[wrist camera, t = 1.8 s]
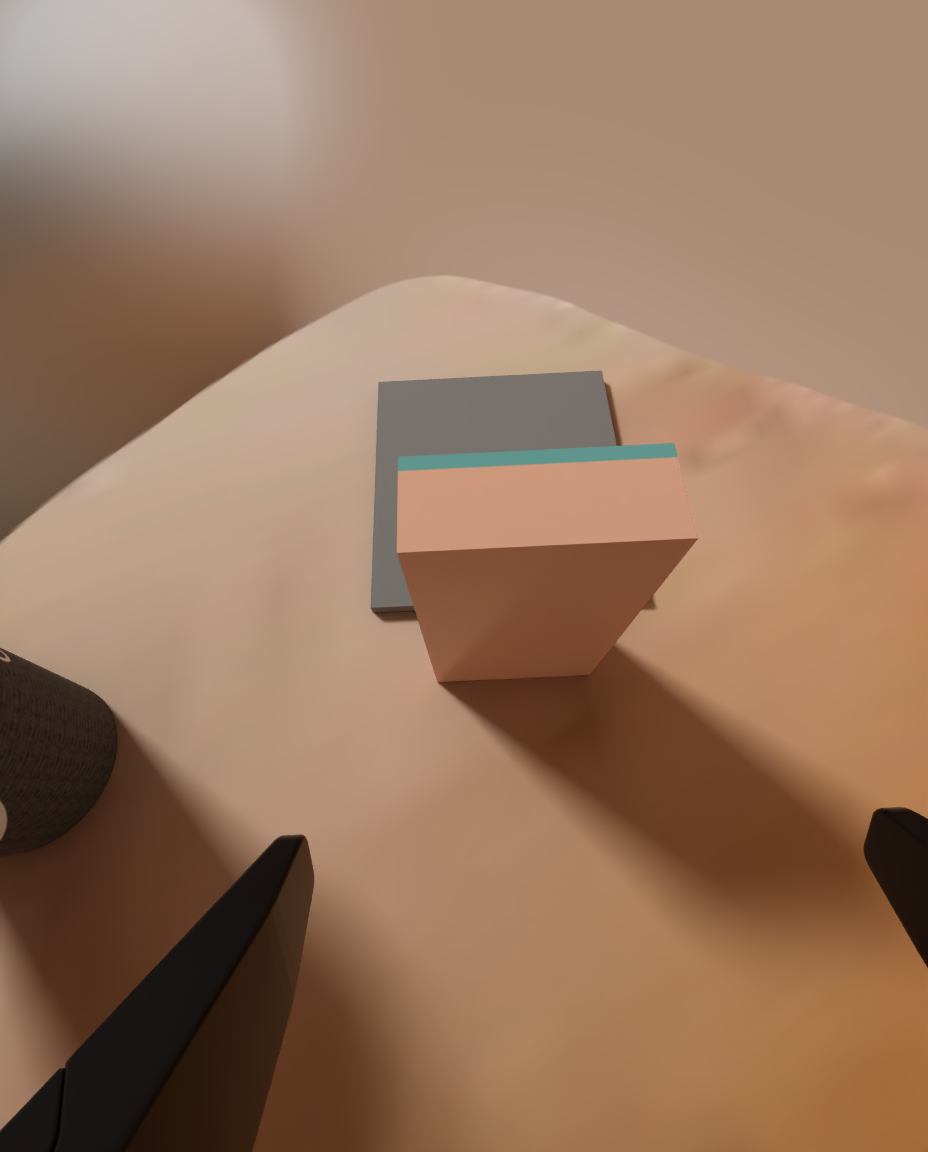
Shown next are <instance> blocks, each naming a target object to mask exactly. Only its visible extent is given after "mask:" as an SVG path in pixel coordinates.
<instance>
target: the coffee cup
mask: <svg viewBox="0 0 928 1152" xmlns="http://www.w3.org/2000/svg"><path fill="white" fill-rule="evenodd" d="M116 748H117V733H116V726H115V722H114V719H113V716H112V714H111V712H110V710H109V708H108V706H107V705H106V704H105V702H104V701H103V700H102V699H101V698H100V697H99V696H98V695H96V694H95V693H94V692H92V691H90V690H89V689H87V688H85V687H83V686H81V685H78V684H76V683H74V682H72V681H70V680H68V679H66V678H64V677H61V676H59V675H57V674H55V673H53V672H51V671H49V670H47V669H44V668H42V667H40V666H38V665H36V664H34V663H32V662H30V661H27V660H25V659H23V658H21V657H19V656H17V655H15V654H13V653H10V652H8V651H6V650H4V649H2V648H0V857H1V856H6V855H12V854H17V853H21V852H26V851H29V850H32V849H35V848H38V847H40V846H43V845H45V844H47V843H49V842H51V841H53V840H54V839H56V838H58V837H59V836H61V835H62V834H64V833H65V832H66V831H68V830H69V829H70V828H71V827H73V826H74V825H75V824H76V823H77V822H78V821H79V820H80V819H81V818H82V817H83V816H84V815H85V814H86V813H87V812H88V811H89V809H90V808H91V807H92V806H93V804H94V803H95V802H96V800H97V799H98V797H99V796H100V794H101V792H102V791H103V789H104V787H105V785H106V783H107V781H108V779H109V776H110V774H111V771H112V768H113V764H114V760H115V756H116Z"/></svg>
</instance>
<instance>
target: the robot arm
mask: <svg viewBox="0 0 928 1152" xmlns="http://www.w3.org/2000/svg"><path fill="white" fill-rule="evenodd" d="M864 855H865V859H866V861H867V863H868V866H869V867H870V869H871V871H872V873H873V874H874V876H875V878H876V880H877V881H878V883H879V885H880V887H881V888H882V890H883V892H884V894H885V895H886V897H887V899H888V901H889V902H890V904H891V906H892V907H893V909H894V911H895V913H896V914H897V916H898V918H899V920H900V921H901V923H902V925H903V927H904V928H905V930H906V932H907V934H908V935H909V937H910V939H911V941H912V942H913V944H914V946H915V948H916V949H917V951H918V953H919V954H920V956H921V958H922V959H923V961H924V963H925V964H926V966H927V968H928V819H927V818H925V817H924V816H922V815H920V814H918V813H916V812H914V811H912V810H910V809H907V808H903V807H894V808H880V809H877V810H876V811H875V812H874V813H873V815H872V819H871V822H870V826H869V829H868V833H867V836H866V839H865V843H864ZM313 888H314V870H313V865H312V860H311V855H310V850H309V846H308V841H307V839H306V837H305V836H304V835H284V836H280V837H278V838H277V839H276V840H274V842H273V843H272V844H271V845H270V846H269V847H268V848H267V849H266V850H265V851H264V852H263V853H262V854H261V855H260V856H259V857H258V859H257V860H256V861H255V862H254V863H253V864H252V865H251V866H250V867H249V868H248V869H247V870H246V871H245V872H244V873H243V874H242V876H241V877H240V878H239V879H238V880H237V881H236V882H235V883H234V884H233V885H232V886H231V887H230V888H229V889H228V890H227V891H226V893H225V894H224V895H223V896H222V897H221V898H220V899H219V900H218V901H217V902H216V903H215V904H214V905H213V906H212V907H211V908H210V910H209V911H208V912H207V913H206V914H205V915H204V916H203V917H202V918H201V919H200V920H199V921H198V922H197V923H196V924H195V925H194V927H193V928H192V929H191V930H190V931H189V932H188V933H187V934H186V935H185V936H184V937H183V938H182V939H181V940H180V941H179V942H178V944H177V945H176V946H175V947H174V948H173V949H172V950H171V951H170V952H169V953H168V954H167V955H166V956H165V957H164V958H163V959H162V960H161V962H160V963H159V964H158V965H157V966H156V967H155V968H154V969H153V970H152V971H151V972H150V973H149V974H148V975H147V976H146V977H145V979H144V980H143V981H142V982H141V983H140V984H139V985H138V986H137V987H136V988H135V989H134V990H133V991H132V992H131V993H130V994H129V996H128V997H127V998H126V999H125V1000H124V1001H123V1002H122V1003H121V1004H120V1005H119V1006H118V1007H117V1008H116V1009H115V1010H114V1011H113V1013H112V1014H111V1015H110V1016H109V1017H108V1018H107V1019H106V1020H105V1021H104V1022H103V1023H102V1024H101V1025H100V1026H99V1027H98V1028H97V1030H96V1031H95V1032H94V1033H93V1034H92V1035H91V1036H90V1037H89V1038H88V1039H87V1040H86V1041H85V1042H84V1043H83V1044H82V1045H81V1047H80V1048H79V1049H78V1050H77V1051H76V1052H75V1053H74V1054H73V1055H72V1056H71V1057H70V1058H69V1059H68V1060H67V1062H66V1065H65V1068H60V1069H59V1070H58V1071H57V1072H56V1073H55V1074H54V1075H53V1076H52V1077H51V1078H50V1079H49V1080H48V1081H47V1082H46V1083H45V1084H44V1085H43V1087H42V1088H41V1089H40V1090H39V1091H38V1092H37V1093H36V1094H35V1095H34V1096H33V1097H32V1098H31V1099H30V1100H29V1101H28V1102H27V1104H26V1105H25V1106H24V1107H23V1108H22V1109H21V1110H20V1111H19V1112H18V1113H17V1114H16V1115H15V1116H14V1117H13V1118H12V1119H11V1120H10V1121H9V1122H8V1123H7V1124H6V1125H5V1126H4V1127H3V1128H2V1129H1V1130H0V1152H252V1151H253V1147H254V1143H255V1140H256V1136H257V1132H258V1129H259V1125H260V1121H261V1118H262V1114H263V1111H264V1107H265V1103H266V1100H267V1096H268V1092H269V1089H270V1085H271V1081H272V1078H273V1074H274V1070H275V1067H276V1063H277V1060H278V1056H279V1052H280V1049H281V1045H282V1041H283V1038H284V1034H285V1030H286V1027H287V1023H288V1019H289V1016H290V1012H291V1008H292V1004H293V1000H294V995H295V990H296V985H297V979H298V974H299V968H300V962H301V957H302V951H303V945H304V940H305V934H306V928H307V922H308V917H309V911H310V905H311V900H312V894H313Z"/></svg>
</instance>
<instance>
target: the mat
mask: <svg viewBox="0 0 928 1152" xmlns="http://www.w3.org/2000/svg"><path fill="white" fill-rule="evenodd" d="M607 446H617V445H616V440H615V435H614V430H613V425H612V420H611V415H610V410H609V405H608V400H607V395H606V390H605V385H604V380H603V375H602V371H586V372H567V373H547V374H528V375H508V376H489V377H469V378H450V379H430V380H411V381H391V382H379V387H378V416H377V444H376V473H375V502H374V531H373V559H372V588H371V609H372V611H373V613H375V612H395V611H415V609H414V606H413V603H412V600H411V596H410V593H409V590H408V587H407V584H406V581H405V577H404V574H403V571H402V568H401V565H400V561H399V558H398V555H397V498H398V457H406V456H426V455H446V454H466V453H486V452H506V451H526V450H547V449H567V448H587V447H607Z"/></svg>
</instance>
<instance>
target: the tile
mask: <svg viewBox="0 0 928 1152" xmlns="http://www.w3.org/2000/svg"><path fill="white" fill-rule="evenodd" d="M697 539H698V535H697V531H696V527H695V523H694V519H693V516H692V512H691V508H690V504H689V500H688V496H687V492H686V488H685V484H684V480H683V477H682V473H681V469H680V465H679V461H678V457H677V453H676V449H675V445H674V443H667V444H647V445H627V446H607V447H587V448H567V449H547V450H526V451H506V452H486V453H466V454H446V455H426V456H406V457H398V498H397V555H398V558H399V561H400V565H401V568H402V571H403V574H404V577H405V581H406V584H407V587H408V590H409V593H410V596H411V600H412V603H413V606H414V609H415V612H416V615H417V619H418V622H419V625H420V628H421V631H422V635H423V638H424V641H425V644H426V647H427V650H428V654H429V657H430V660H431V663H432V666H433V670H434V673H435V676H436V679H437V682H451V681H473V680H494V679H515V678H537V677H558V676H580V675H590V674H591V673H592V671H593V670H594V669H595V668H596V666H597V665H598V664H599V663H600V661H601V660H602V659H603V658H604V656H605V655H606V654H607V653H608V651H609V650H610V649H611V648H612V646H613V645H614V644H615V642H616V641H617V640H618V639H619V637H620V636H621V635H622V634H623V632H624V631H625V630H626V629H627V627H628V626H629V625H630V624H631V622H632V621H633V620H634V619H635V617H636V616H637V615H638V614H639V612H640V611H641V610H642V608H643V607H644V606H645V605H646V603H647V602H648V601H649V600H650V598H651V597H652V596H653V595H654V593H655V592H656V591H657V590H658V588H659V587H660V586H661V585H662V583H663V582H664V581H665V579H666V578H667V577H668V576H669V574H670V573H671V572H672V571H673V569H674V568H675V567H676V566H677V564H678V563H679V562H680V561H681V559H682V558H683V557H684V556H685V554H686V553H687V552H688V550H689V549H690V548H691V547H692V545H693V544H694V543H695V542H696V540H697Z"/></svg>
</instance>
